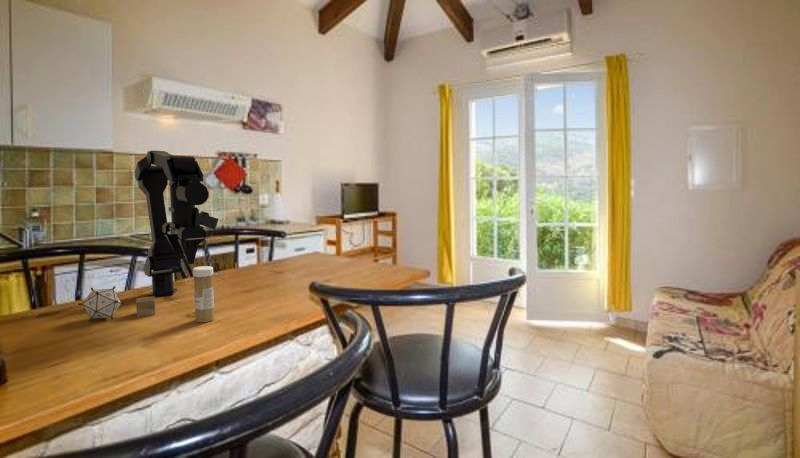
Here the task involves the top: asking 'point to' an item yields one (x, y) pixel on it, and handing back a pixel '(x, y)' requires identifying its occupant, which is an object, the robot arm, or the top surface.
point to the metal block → (145, 306)
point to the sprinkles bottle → (203, 293)
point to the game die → (101, 303)
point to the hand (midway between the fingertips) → (185, 261)
